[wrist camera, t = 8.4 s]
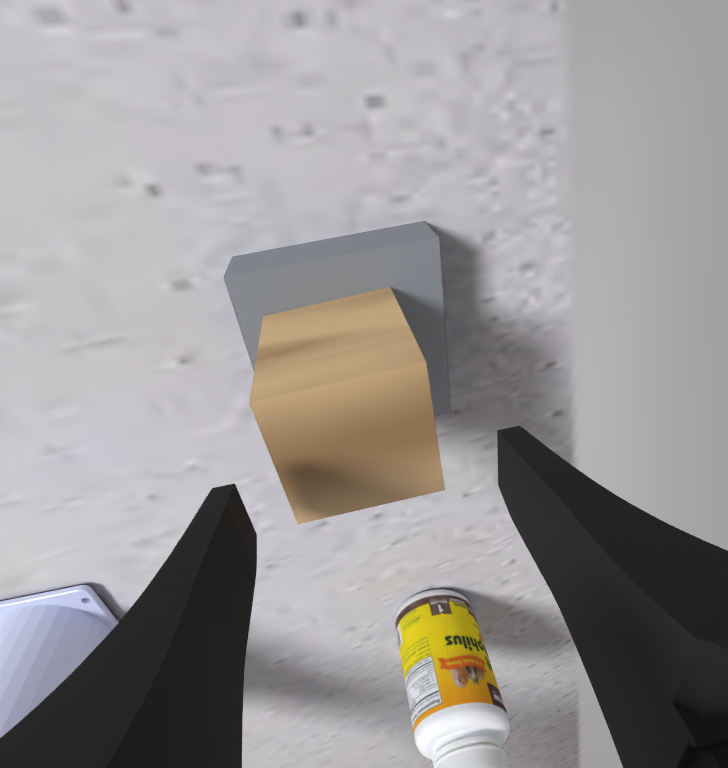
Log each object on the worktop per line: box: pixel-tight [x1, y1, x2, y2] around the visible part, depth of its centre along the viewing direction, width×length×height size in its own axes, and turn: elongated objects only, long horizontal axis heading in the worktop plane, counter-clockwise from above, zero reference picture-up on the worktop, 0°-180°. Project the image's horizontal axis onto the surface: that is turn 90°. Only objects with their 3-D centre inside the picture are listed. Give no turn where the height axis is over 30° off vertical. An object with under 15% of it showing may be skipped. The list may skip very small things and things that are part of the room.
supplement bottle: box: [395, 589, 510, 768], centre depth 29 cm, size 6×6×10 cm
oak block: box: [249, 287, 445, 524], centre depth 17 cm, size 5×5×6 cm
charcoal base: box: [224, 221, 451, 415], centre depth 21 cm, size 8×8×3 cm
